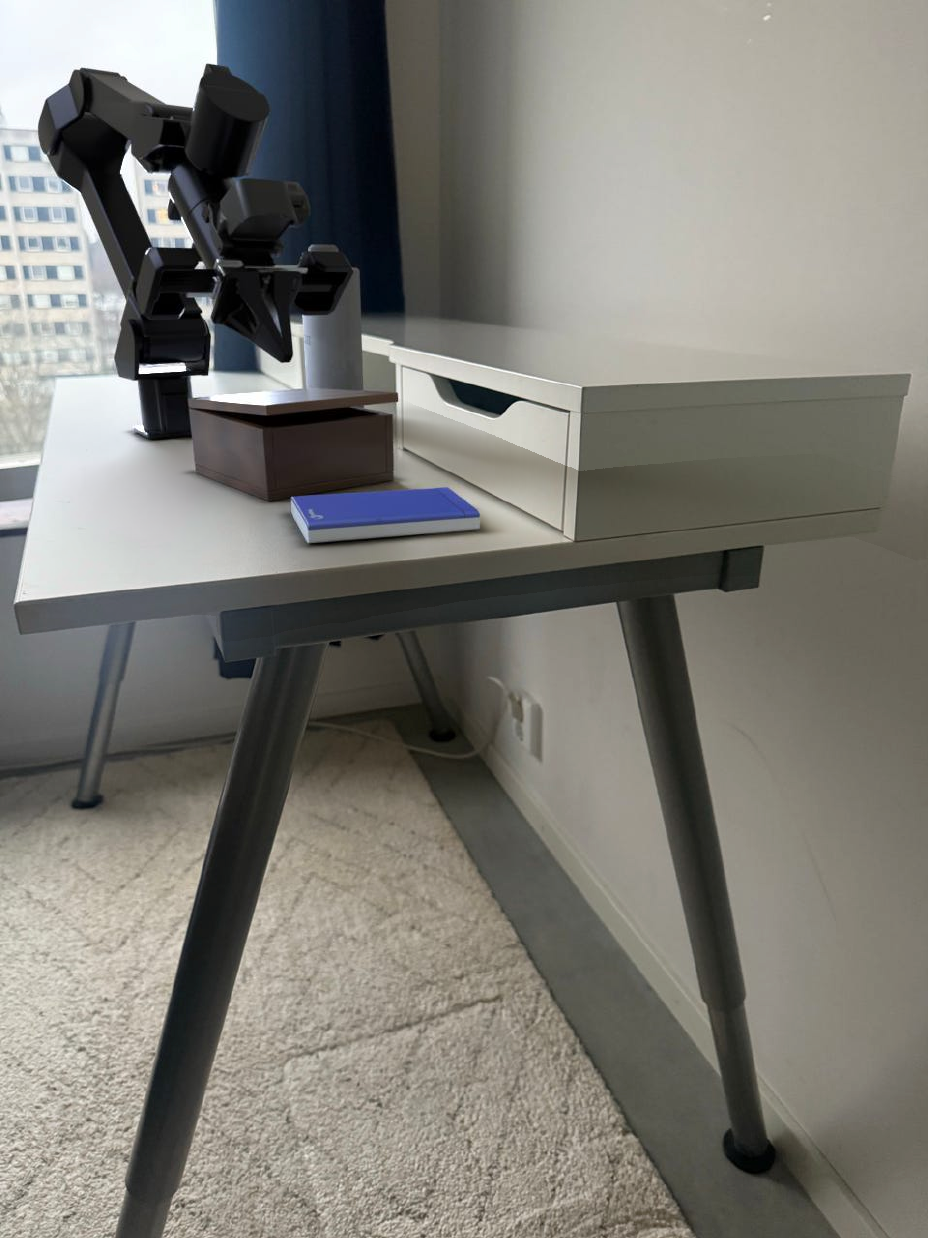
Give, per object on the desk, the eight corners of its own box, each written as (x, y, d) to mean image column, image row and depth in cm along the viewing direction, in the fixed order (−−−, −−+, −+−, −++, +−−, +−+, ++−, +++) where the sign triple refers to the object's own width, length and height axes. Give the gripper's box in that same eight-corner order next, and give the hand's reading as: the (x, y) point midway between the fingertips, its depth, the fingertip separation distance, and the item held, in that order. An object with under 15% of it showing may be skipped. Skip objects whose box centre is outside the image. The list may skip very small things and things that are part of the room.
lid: (398, 401, 74) (398, 392, 73) (266, 415, 66) (265, 405, 66) (311, 396, 84) (310, 387, 84) (188, 407, 77) (187, 398, 76)
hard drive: (307, 523, 58) (480, 510, 62) (290, 494, 65) (446, 484, 69) (308, 545, 59) (479, 531, 62) (291, 514, 66) (446, 503, 69)
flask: (300, 408, 115) (291, 245, 107) (344, 406, 117) (337, 246, 109) (320, 427, 102) (310, 242, 94) (368, 424, 103) (362, 243, 96)
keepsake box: (394, 479, 77) (393, 414, 75) (268, 501, 69) (262, 429, 67) (314, 455, 87) (311, 396, 84) (195, 472, 79) (188, 407, 77)
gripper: (130, 131, 66) (208, 291, 62) (338, 153, 77) (414, 289, 73) (108, 244, 74) (175, 390, 71) (297, 249, 85) (364, 375, 82)
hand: (287, 359), depth 74 cm, fingers closed
